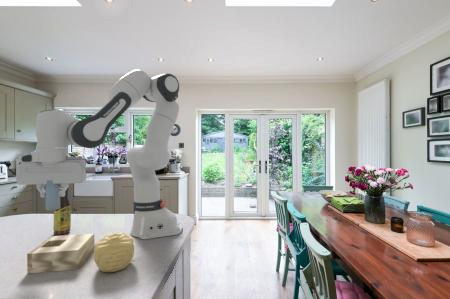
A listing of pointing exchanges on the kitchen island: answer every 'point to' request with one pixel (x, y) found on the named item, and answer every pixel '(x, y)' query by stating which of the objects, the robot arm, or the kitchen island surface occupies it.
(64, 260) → the bore block
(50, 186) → the pin
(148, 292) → the kitchen island surface
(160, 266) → the kitchen island surface
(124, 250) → the pale yellow rounded lump
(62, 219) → the sauce bottle
